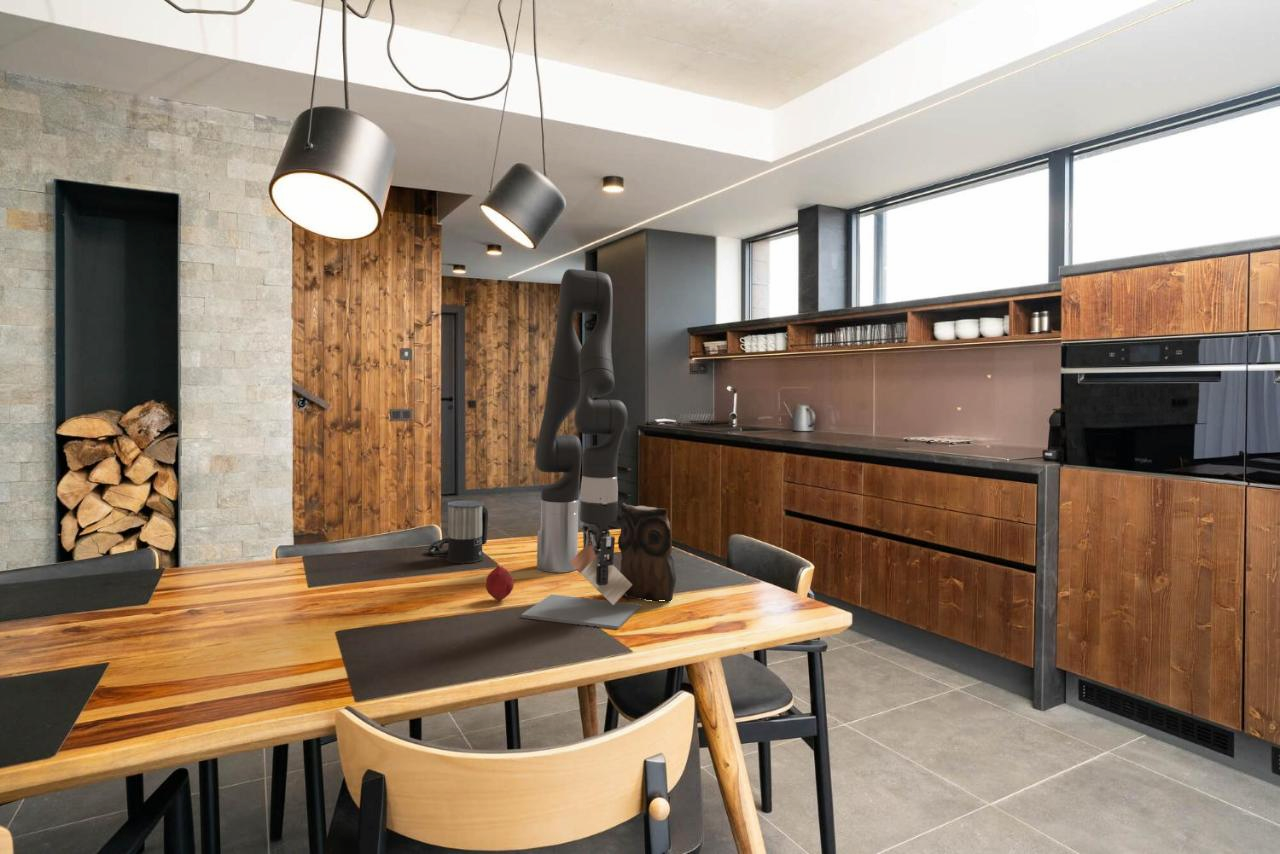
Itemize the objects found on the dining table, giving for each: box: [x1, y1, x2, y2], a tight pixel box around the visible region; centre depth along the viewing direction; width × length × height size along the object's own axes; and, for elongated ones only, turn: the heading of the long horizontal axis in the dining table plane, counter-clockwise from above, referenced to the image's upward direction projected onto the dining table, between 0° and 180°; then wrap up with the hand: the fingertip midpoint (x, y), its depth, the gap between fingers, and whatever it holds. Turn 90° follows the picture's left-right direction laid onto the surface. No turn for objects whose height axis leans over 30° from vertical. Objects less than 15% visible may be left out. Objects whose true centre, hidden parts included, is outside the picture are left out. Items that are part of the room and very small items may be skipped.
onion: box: [484, 562, 515, 602], centre depth 156 cm, size 6×6×8 cm
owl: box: [617, 502, 677, 602], centre depth 163 cm, size 13×13×20 cm
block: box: [570, 544, 632, 605], centre depth 151 cm, size 6×6×11 cm
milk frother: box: [427, 499, 489, 564], centre depth 194 cm, size 14×16×15 cm
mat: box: [520, 594, 641, 630], centre depth 150 cm, size 20×15×1 cm
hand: (597, 580), depth 151 cm, fingers open, 6 cm apart
